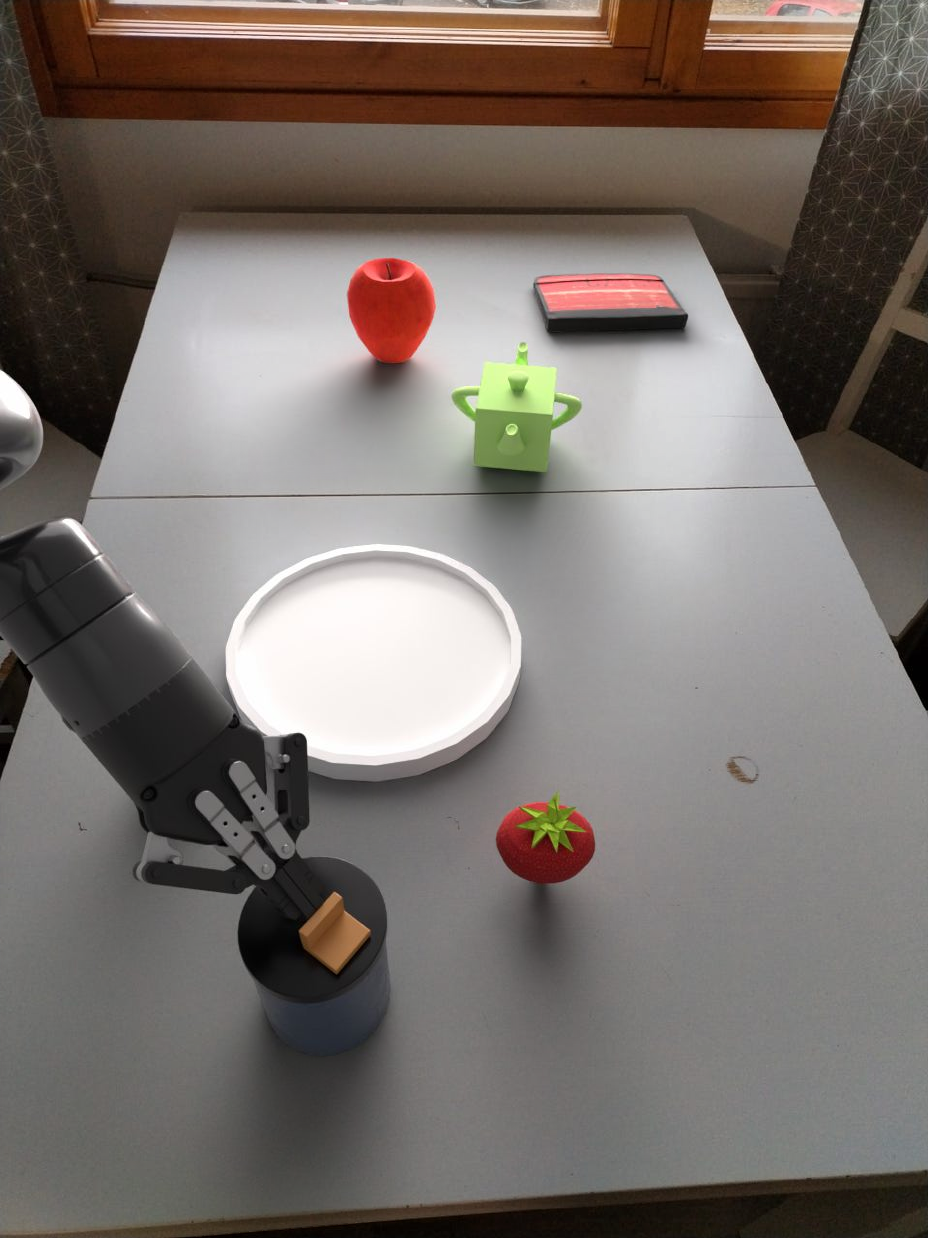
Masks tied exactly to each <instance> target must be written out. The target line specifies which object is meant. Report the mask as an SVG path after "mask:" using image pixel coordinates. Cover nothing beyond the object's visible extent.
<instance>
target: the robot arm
mask: <svg viewBox="0 0 928 1238" xmlns="http://www.w3.org/2000/svg"><path fill="white" fill-rule="evenodd" d="M43 444H44V428H43V423H42V419H41V416H40V414H39V411H38V409H37V407H36V405H35V404H34V402H33V400H32V399H31V397H30V396H29V395H28V393H27V392H26V391H25V390H24V389H23V388H22V386H21V385H20V384H18V382H17V381H16V380H14V378H12V377H11V376H10V375H9V374H7V373H6V372H4V371H3V370H2V369H0V491H1V490H3V489H4V488H6V487H7V486H9V485H10V484H12V483H13V482H15V481H17V480H18V479H19V478H21V477H23V476H24V475H25V474H26V473H28V471H30V470H31V468H32V467H33V466H34V465H35V464H36V462H37V461H38V460H39V457H40V455H41V452H42V449H43ZM0 637H1V638H2V639H3V641H4V642H5V643H6V644H7V645H8V647H9V648H10V649H11V650H12V651H13V652H14V654H15V655H16V656H17V657H18V659H19V660H20V661H21V662H22V663H23V665H26V668H27V670H28V671H29V673H31V675H32V676H33V678H34V679H35V681H36V683H37V684H38V686H39V688H40V689H41V691H42V693H43V695H45V698H46V699H47V700H48V702H49V704H51V706H52V707H53V709H55V711H56V712H57V714H58V715H59V716H60V718H61V720H62V722H63V723H64V725H65V726H66V727H67V728H68V730H70V731H72V732H73V733H75V734H76V735H77V737H78V738H79V740H81V742H82V743H83V744H84V746H86V748H87V749H88V750H89V751H90V752H91V753H92V755H93V756H94V757H95V758H96V759H97V761H99V763H100V764H101V765H102V767H104V769H105V770H106V771H107V772H108V774H109V775H110V776H111V777H112V779H114V781H115V782H116V783H117V784H118V785H119V787H120V788H121V789H122V790H123V791H124V793H125V794H126V795H127V796H128V797H129V798H130V800H131V801H132V803H133V804H134V805H135V808H136V810H137V814H138V822H139V824H140V826H141V828H142V829H143V830H144V831H145V832H146V833H147V837H146V841H145V845H144V849H143V853H142V857H141V859H140V860H137V862H136V863H135V864H134V865H133V867H132V876H133V878H134V879H135V880H136V881H138V882H142V883H146V884H150V885H155V886H156V885H157V886H164V887H173V888H180V889H188V890H195V891H196V890H197V891H205V892H212V893H213V892H214V893H219V894H221V893H222V894H229V895H240V894H242V893H243V892H244V891H245V890H246V889H248V888H249V887H251V886H254V887H257V889H258V890H259V891H260V892H261V894H262V895H263V896H264V897H265V898H266V900H267V901H268V902H269V903H270V904H271V906H272V907H273V908H274V909H275V911H276V912H277V913H278V914H279V915H281V916H283V917H285V918H289V919H293V920H296V919H301V920H305V921H308V920H309V919H310V918H311V916H312V915H313V914H314V913H315V912H316V911H317V910H318V909H319V908H320V906H321V905H322V904H323V903H324V901H323V899H322V898H321V897H320V895H319V894H320V893H321V892H322V891H323V888H322V884H321V882H320V880H319V879H318V878H317V877H316V875H315V874H314V873H313V872H312V871H311V869H310V868H309V866H308V865H307V864H306V863H305V861H304V860H303V859H302V858H303V857H302V856H301V855H300V854H299V852H298V850H297V840H298V839H299V837H300V835H301V832H302V831H304V830H306V829H307V828H308V827H309V825H310V823H311V822H310V820H311V817H310V815H311V813H310V789H309V788H310V787H309V784H310V783H309V771H308V755H307V739H306V737H305V735H303V734H302V733H288V734H283V735H279V736H262V734H261V733H260V731H259V730H258V729H256V728H255V727H253V726H250V725H248V724H246V723H244V722H243V721H242V720H241V718H240V717H239V716H238V715H237V713H236V712H235V710H234V709H233V707H232V706H231V704H230V703H229V702H228V701H227V700H226V698H225V697H224V696H223V695H222V693H221V692H220V690H219V689H218V688H217V686H215V684H214V683H213V681H212V680H211V679H210V678H209V676H208V675H207V674H206V673H205V671H204V670H203V669H202V668H201V666H200V665H199V664H198V663H197V661H196V660H195V659H194V657H193V656H192V655H191V654H190V652H189V651H188V650H187V648H186V647H185V646H184V645H183V643H182V642H181V641H180V639H179V638H178V637H177V636H176V634H175V633H174V632H173V630H172V629H171V628H170V627H169V625H168V624H167V623H166V622H165V620H163V618H161V616H160V615H158V613H157V612H155V610H154V609H152V608H151V607H150V606H149V605H148V604H147V602H146V601H144V600H143V599H142V598H141V596H140V595H139V594H138V593H137V592H136V591H135V592H134V588H133V586H132V585H131V584H130V583H129V581H128V580H127V579H126V578H125V576H124V575H123V574H122V573H121V571H120V570H119V569H118V567H117V566H116V565H115V564H114V563H113V561H112V560H111V558H110V557H109V556H108V555H107V553H105V551H104V550H103V548H102V547H101V546H100V545H99V543H98V542H97V540H95V538H94V537H93V535H92V534H91V533H90V532H89V531H88V530H87V529H86V528H85V526H83V525H82V524H81V523H80V522H79V521H78V520H76V519H74V518H73V517H69V516H63V515H62V516H60V515H59V516H53V517H49V518H46V519H42V520H40V521H37V522H34V523H32V524H30V525H28V526H25V527H23V528H20V529H18V530H15V531H13V532H11V533H7V534H5V535H2V536H0ZM267 766H268V767H269V768H270V769H272V770H273V791H274V792H273V793H274V794H273V795H274V806H273V804H272V802H271V801H270V800H269V798H268V797H267V794H268V784H267V783H268V779H267ZM169 839H171V840H175V841H179V842H186V843H189V844H190V843H191V844H194V845H195V844H196V845H202V846H212V847H213V848H214V849H215V850H216V851H217V852H218V853H219V854H220V855H223V856H224V857H225V858H226V859H227V860H228V861H229V862H230V863H231V864H232V865H233V866H231V867H229V868H226V869H224V870H223V869H216V868H209V867H202V866H194V865H187V864H184V855H183V853H182V852H181V850H179V849H176V848H174V847H172V846H171V845H170V844H171V843H170V842H169Z"/></svg>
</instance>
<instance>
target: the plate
mask: <svg viewBox="0 0 928 1238" xmlns="http://www.w3.org/2000/svg"><path fill="white" fill-rule="evenodd" d="M520 631H521V630H520V628H519V625H518V622H517V619H516V616H515V613H514V610H513V608H512V607H511V606H510V604H509V603H508V601H507V600H506V599H505V597H504V596H503V595H502V593H501V592H500V590H498V588H497V586H495V585H494V584H493V583H491V582H490V581H489V580H487V579H486V578H485V577H484V576H482V575H481V574H480V573H479V572H477V571H476V570H475V569H474V568H472V567H471V566H469V565H467V564H464V563H462V562H461V561H458V560H456V559H453V558H451V557H450V556H447V555H445V554H443V553H439V552H435V551H432V550H427V549H424V548H419V547H414V546H411V545H401V544H399V545H398V544H397V545H396V544H382V543H381V544H379V543H371V544H364V545H355V546H348V547H340V548H336V549H332V550H329V551H325V552H323V553H319V554H316V555H313V556H309V557H307V558H304V559H302V560H301V561H299V562H297V563H295V564H293V565H291V566H290V567H288V568H286V569H284V570H282V571H280V572H278V573H277V574H275V575H274V576H273V577H271V578H270V579H269V580H268V581H267V582H266V583H264V584H263V585H262V586H261V587H260V588H258V589H257V590H256V591H255V592H254V593H252V594H251V596H250V598H249V599H248V601H247V602H246V603H245V604H244V606H243V607H242V609H241V610H240V612H239V613H238V614H237V616H235V619H234V621H233V623H232V627H231V631H230V633H229V636H228V639H227V642H226V645H225V677H226V678H225V679H226V681H227V685H228V689H229V692H230V695H231V698H232V700H233V703H234V706H235V708H236V711H237V713H238V715H239V719H240V720H241V721H243V722H244V723H246V724H248V725H250V726H253V727H255V728H256V729H258V730H259V731H260V733H261V734H262V736H279V735H283V734H288V733H302V734H303V735H305V737H306V739H307V755H308V772H310V773H314V774H317V775H321V776H324V777H326V778H330V779H333V780H343V781H344V780H345V781H362V782H376V783H377V782H378V783H379V782H385V781H389V780H391V781H392V780H396V779H397V780H398V779H402V778H403V779H404V778H408V777H414V776H415V777H416V776H420V775H422V774H425V773H428V772H430V771H433V770H434V769H438V768H440V767H443V766H445V765H447V764H450V763H452V762H454V761H457V760H458V759H460V758H461V757H463V756H464V755H465V754H467V753H468V752H470V751H471V750H472V749H473V748H476V747H477V746H478V745H479V744H481V743H482V742H483V741H485V740H486V739H487V738H489V736H490V735H491V733H492V732H493V731H494V730H495V728H496V727H497V726H498V725H499V723H500V722H501V721H502V720H503V719H504V717H506V715H507V713H508V712H509V711H510V707H511V705H512V703H513V700H514V697H515V694H516V692H517V690H518V687H519V684H520V678H521V668H522V634H521V632H520Z"/></svg>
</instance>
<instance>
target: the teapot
mask: <svg viewBox="0 0 928 1238" xmlns="http://www.w3.org/2000/svg"><path fill="white" fill-rule="evenodd" d="M528 353H529V347H528V344H527V342H525V341H522V342H520V343H519V344H518V346H517V350H516V356H515V360H514V363H503V362H490V361H484V363H483V369H482V374H481V378H480V384H479V386H477V385H470V386H468V385H467V386H461V387H457V388H456V389H454V390H453V391H452V393H451V399H452V402H453V404H454V405H455V407H456V408H457V410H459V411H460V412H461V413H462V414H464V415H465V416H466V417H467V418H469V419H470V420H471V421H472V422H474V439H473V440H474V441H473V443H474V444H473V467H480V468H493V469H504V470H514V471H515V470H516V471H524V472H525V471H526V472H527V471H528V472H536V473H537V472H539V473H547V472H548V466H549V465H548V464H549V456H550V447H551V437H552V432H553V430H555V429H557V428H559V427H561V426H564V425H565V424H566V423H568V422H570V421H572V420H573V419H574V418H575V417H577V415H578V414H579V413H580V412H581V410H582V408H583V403H582V401H581V400H580V399H579V398H578V397H576V396H574V395H570V394H566V393H560V392H556V384H557V371H558V368H557V367H555V366H554V367H553V366H552V367H551V366H540V365H529V359H528ZM475 396H476V397H477V399H476V405H475V409H474V408H473V406H472V405H471V404H470V402H469V401H468V400H467V398H468V397H475ZM466 397H467V398H466ZM555 403H558V404H562V405H566V406H567V407H566V408H565V410H563V411H562V412H561V413H560V414H559V415H558V416H556V417H555V418H554V408H555Z"/></svg>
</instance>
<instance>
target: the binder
mask: <svg viewBox="0 0 928 1238" xmlns="http://www.w3.org/2000/svg"><path fill="white" fill-rule="evenodd" d="M532 287H533V289H534V293H535V296H536V299H537V303H538V305H539V309H540V312H541V315H542V319H543V322H544V325H545V329H546V332H548V333H555V332H557V333H558V332H559V333H562V332H593V331H594V332H595V331H597V332H598V331H625V330H628V331H629V330H654V329H657V330H659V329H683V328H684V329H685V328H686V327H687V323H688V320H689V314H688V313H687V312H686V310H685V309H684V307H683V306H682V305H681V303H680V302H679V301H678V299H677V298H676V296H675V295H674V293H673V292H672V291H671V289H670V287H669V286H668V284H666V281H665V280H664V278H662V277H661V276H658V275H655V274H650V273H648V274H647V273H631V272H630V273H629V272H609V273H607V272H606V273H605V272H604V273H602V272H601V273H600V272H598V273H597V272H596V273H567V274H566V273H565V274H563V273H562V274H547V275H540V276H537V277H535V278H534V279H533V283H532Z"/></svg>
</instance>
